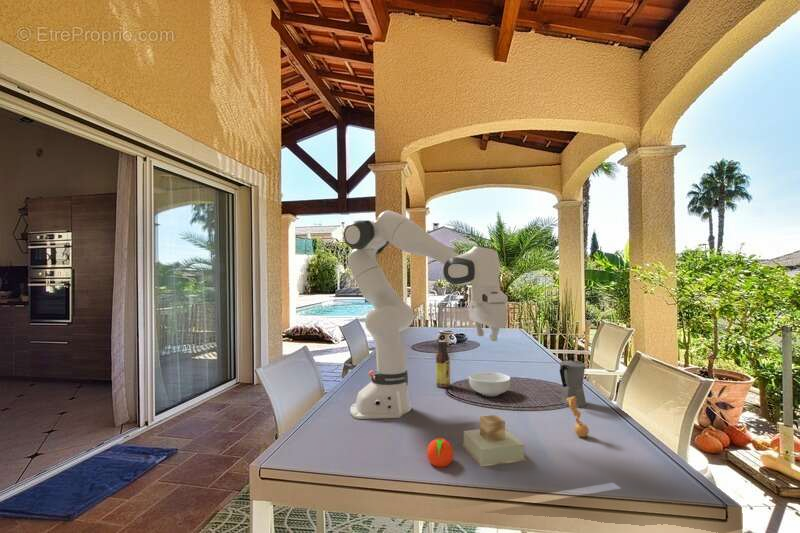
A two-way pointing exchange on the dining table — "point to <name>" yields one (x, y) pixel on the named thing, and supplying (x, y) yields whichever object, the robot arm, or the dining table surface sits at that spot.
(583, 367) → the coffeepot
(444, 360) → the sauce bottle
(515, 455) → the plinth block
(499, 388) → the cereal bowl
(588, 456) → the dining table surface
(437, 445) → the clementine
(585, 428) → the figurine
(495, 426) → the oak cube
